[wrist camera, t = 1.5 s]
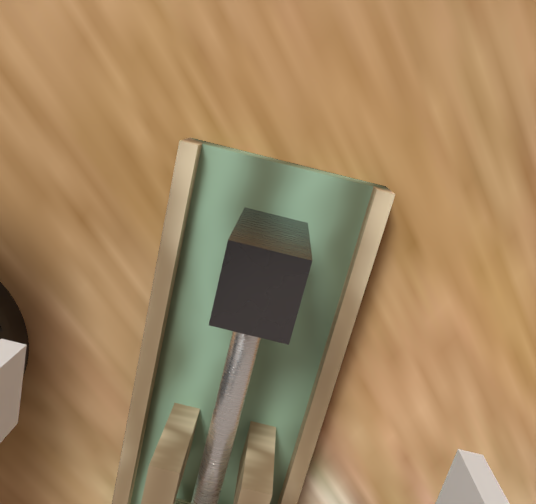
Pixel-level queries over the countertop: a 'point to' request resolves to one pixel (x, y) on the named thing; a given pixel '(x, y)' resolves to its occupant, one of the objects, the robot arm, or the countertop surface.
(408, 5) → the countertop surface
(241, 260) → the hammer
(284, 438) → the tray
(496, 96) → the countertop surface
